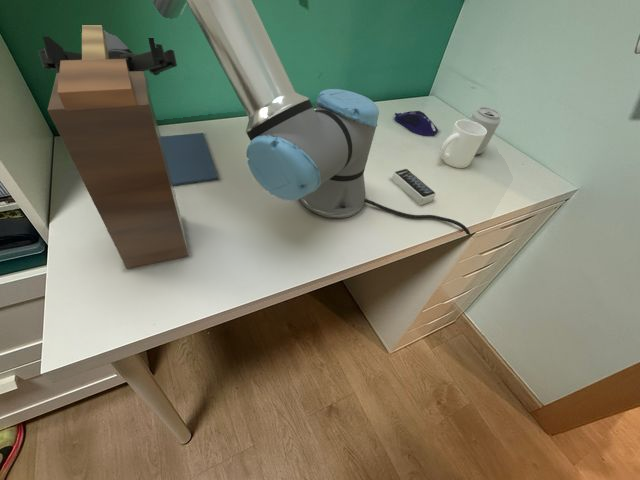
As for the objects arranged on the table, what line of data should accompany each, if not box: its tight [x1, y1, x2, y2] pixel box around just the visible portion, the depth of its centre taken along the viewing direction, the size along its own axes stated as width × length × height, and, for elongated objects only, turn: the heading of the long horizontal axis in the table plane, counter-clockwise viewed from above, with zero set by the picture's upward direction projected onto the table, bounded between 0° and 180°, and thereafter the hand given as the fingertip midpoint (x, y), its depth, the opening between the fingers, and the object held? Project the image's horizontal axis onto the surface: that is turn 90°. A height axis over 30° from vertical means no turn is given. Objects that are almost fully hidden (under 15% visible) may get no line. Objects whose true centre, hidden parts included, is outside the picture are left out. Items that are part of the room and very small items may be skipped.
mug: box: [439, 119, 487, 169], centre depth 89 cm, size 12×8×10 cm
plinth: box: [47, 71, 190, 270], centre depth 50 cm, size 10×10×28 cm
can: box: [470, 106, 502, 156], centre depth 95 cm, size 8×8×12 cm
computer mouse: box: [394, 110, 439, 137], centre depth 104 cm, size 9×15×4 cm, turn 58°
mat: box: [160, 132, 219, 187], centre depth 78 cm, size 20×12×1 cm, turn 23°
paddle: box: [57, 25, 136, 111], centre depth 43 cm, size 23×7×2 cm, turn 25°
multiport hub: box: [391, 168, 437, 206], centre depth 80 cm, size 4×11×2 cm, turn 31°
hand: (103, 47), depth 49 cm, fingers open, 13 cm apart
